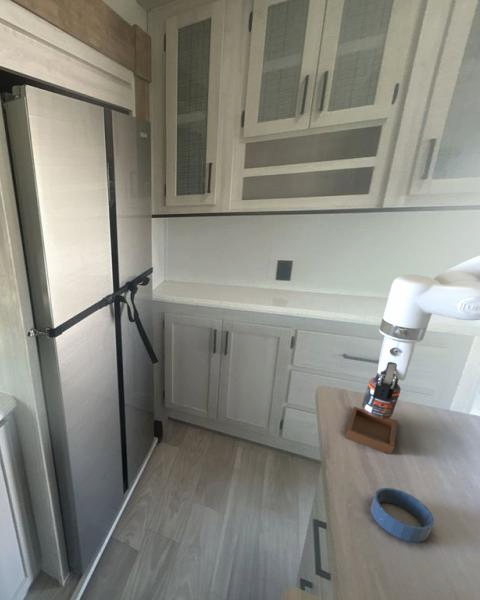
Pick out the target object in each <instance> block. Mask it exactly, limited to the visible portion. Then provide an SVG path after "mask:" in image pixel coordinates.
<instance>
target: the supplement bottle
mask: <svg viewBox="0 0 480 600" xmlns="http://www.w3.org/2000/svg"><path fill="white" fill-rule="evenodd" d="M383 373H385V374H386V372H383ZM380 375H381V374H379V373H378V372H377V373H376V375H375V377H371V378H370V379H369V381H368V384H367V387H366V390H365V394H364V396H363V400H362V403H361V409H363V410H364V411H365V412H366V413H367V414H369V415H371V416H373V417H376V418H380V419H388V418H391V417H392V416H393V414H394V411H395V408H396V405H397V402H398V400H399V397H400V394H401V390H402V388H401V386H400V385H399V380H400V379H398V378H396V381H395V384H394V391H393V394H392V398H391V401H390V402H387V401H384V400H380V399H377V398H374V397H373V394H374V390H375V387H376V384H377V383H378V382H379V378H380ZM393 376H394V374H393ZM383 379H385V376H383ZM383 379H382V380H383Z"/></svg>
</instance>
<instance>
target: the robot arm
mask: <svg viewBox="0 0 480 600" xmlns="http://www.w3.org/2000/svg"><path fill="white" fill-rule="evenodd" d="M433 315H438V316H442V317H447V318H451V319H456V320H461V321H479V320H480V254H479V255H478V256H477V255H476V256H474V257H472V258H470V259H467V260H465V261H463V262H461V263H459V264H456V265H454V266H452V267H450V268H448V269H446V270H444V271H441V272H439V274H438V275H436V276H435V277H434V278H432V277H429V276H425V275H418V274H404V275H399V276H397V277H396V278H394V280H393V281H392V283H391V286H390V290H389V294H388V297H387V300H386V305H385V308H384V312H383V315H382V319H381V322H380V326H379V329H378V332H379V333H380V334H381V335H383V336H384V337H383V340H382V344H381V348H380V353H379V359H378V366H377V373H379V374H381V375H380V378H379V382H378V383H377V384H376V387H375V390H374V394H373V397H374V398H377V399H380V400H384V401H387V402H390V401H391V398H392V394H393V391H394V384H395V381H396V378H398V379H399V380H400V381H402V382H403V381H405V380H406V377H407V373H408V371H409V367H410V364H411V361H412V358H413V354H414V351H415V347H416V343H417V342H422V341H423V340H424V338H425V335H426V332H427V330H428V326H429V323H430V320H431V318H432V316H433ZM383 372H386V374H385V373H383ZM393 374H394V376H393ZM383 376H385V379H383ZM382 379H383V380H382Z"/></svg>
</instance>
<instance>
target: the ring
mask: <svg viewBox="0 0 480 600" xmlns="http://www.w3.org/2000/svg"><path fill="white" fill-rule="evenodd" d="M381 503H388V504H392V505H395V506H397V507H399V508H402V509H404V510H406V511H407V512H408V513H410V514H411V515H413V516H414V517H415V518H416V519H417V520H418V521H419V523H420V524H421V525H422V526H414V525H411V524H407V523H404V522H403V521H401V520H398V519H397V518H396V517H394V516H393V515H391V514H390V513H389V512H387V511H386V510H385V508H383V506H382V505H381ZM369 510H370V513H371V516H372V517H373V518H374V520H375V522H376V523H377V524H378V525H379V526H380V527H381V528H382V529H383V530H385V531H386V532H388V533H389V534H390V535H392V536H394V537H396V538H398V539H400V540H403V541H406V542H408V543H416V544H418V543H423V542H425V541H426V540H427V539H428V537H429V535H430V533H431V531H432V529H433V526H434V524H435V518H434V516H433V514H432V512H431V510H429V508H428V507H427V506H426V505H425V504H424V503H423V502H422V501H421V500H419V499H418V498H416V497H415V496H413V495H411V494H409V493H407V492H405V491H403V490H400V489H396V488H393V487H382V488H379V489H378V490H376V491H375V493H374V496H373V499H372V502H371V505H370V508H369Z"/></svg>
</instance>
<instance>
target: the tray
mask: <svg viewBox="0 0 480 600" xmlns="http://www.w3.org/2000/svg"><path fill="white" fill-rule="evenodd" d="M397 428H398V420H397V419H393V418H391V417H390V418H388V419H380V418H376V417H373V416H371V415H369V414H367V413H366V412H365V411H364V410H363V409H362V408H360V407H357V406H353V409H352V412H351V416H350V419H349V422H348V426H347V430H346V433H345V436H344V438H345V439H347V440H350V441H353V442H356V443H357V444H361V445H363V446H366V447H367V448H368V447H369V448H372V449H374V450H376V451H379V452H382V453H384V454H387V455H393V452H394V449H395V445H396V435H397V430H398V429H397Z"/></svg>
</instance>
